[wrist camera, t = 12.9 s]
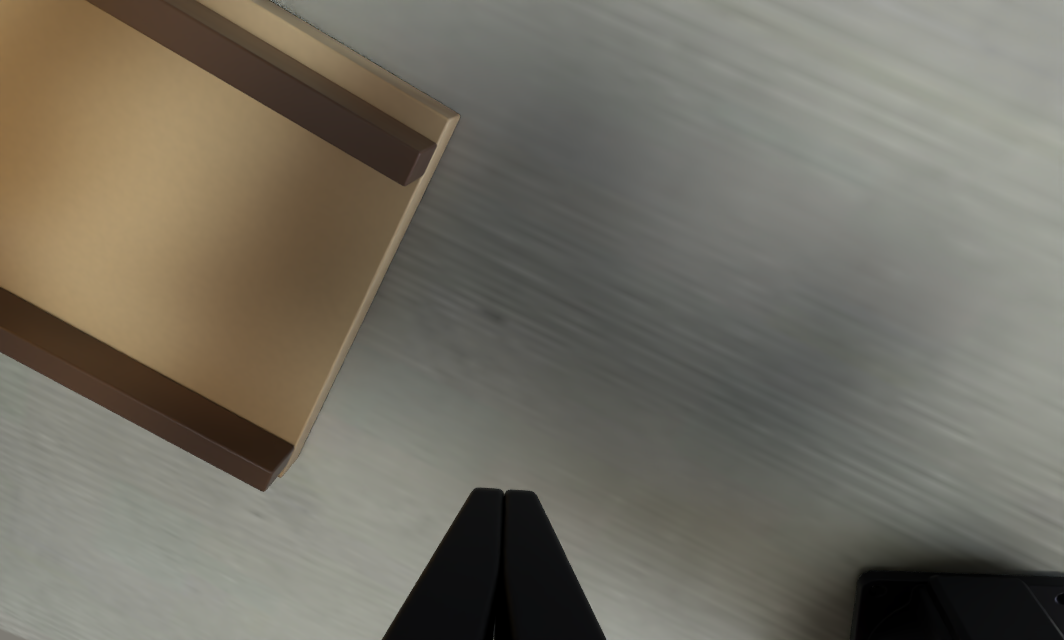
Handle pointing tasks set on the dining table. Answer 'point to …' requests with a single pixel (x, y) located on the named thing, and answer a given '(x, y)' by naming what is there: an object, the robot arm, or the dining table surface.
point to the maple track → (199, 212)
